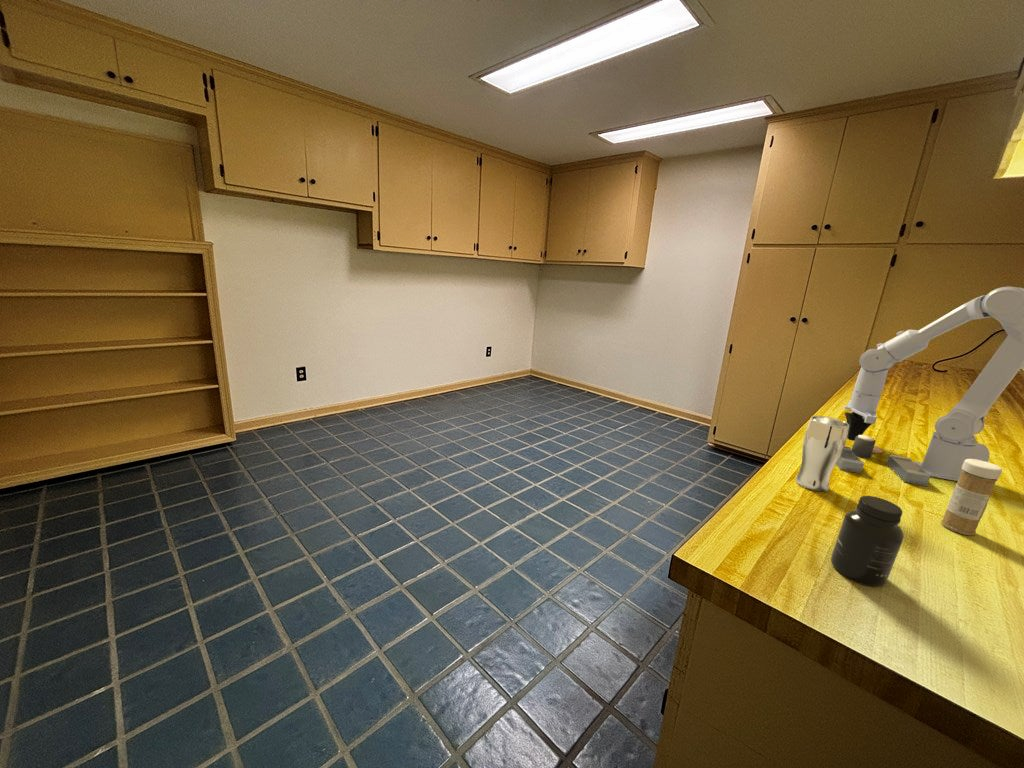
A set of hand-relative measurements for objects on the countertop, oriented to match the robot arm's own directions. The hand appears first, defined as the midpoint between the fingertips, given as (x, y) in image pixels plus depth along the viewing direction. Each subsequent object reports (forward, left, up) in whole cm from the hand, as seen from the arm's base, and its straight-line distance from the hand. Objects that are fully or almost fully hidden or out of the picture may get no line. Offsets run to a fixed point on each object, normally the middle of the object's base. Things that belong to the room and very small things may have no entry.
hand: (852, 439), depth 114 cm
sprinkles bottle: (-5, +41, -2) cm, 41 cm away
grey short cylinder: (0, +8, -2) cm, 8 cm away
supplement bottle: (+17, +65, -2) cm, 67 cm away
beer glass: (+17, +34, -2) cm, 38 cm away
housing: (0, +17, -1) cm, 17 cm away
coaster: (-4, +1, -1) cm, 4 cm away
